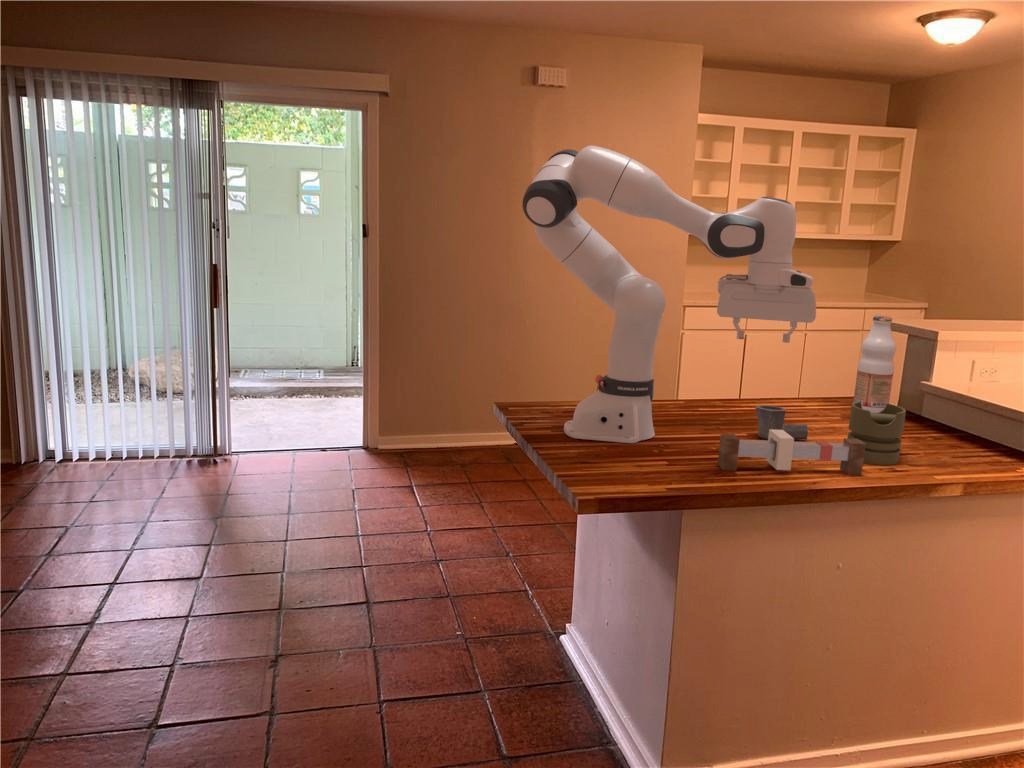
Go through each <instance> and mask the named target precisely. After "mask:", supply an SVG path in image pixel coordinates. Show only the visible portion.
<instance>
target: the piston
mask: <svg viewBox="0 0 1024 768" xmlns="http://www.w3.org/2000/svg"><path fill="white" fill-rule="evenodd" d="M906 412H907V410H906V409H905V408H904V407H901V406H898V405H895V404H890V403H889V404H886V406H885V408H884V409H883V410H882V411H880V412H878V413H870V411H869V410H864V409H862V406H861V402H854V403H853V402H852V403H851V407H850V416H849V423H848V429H849V430H850V431H849V432H848V433H847V438H849V439H859V440H860V441H862V442H863V443H865V444H866V446H865V454H864V461H863V462H864V463H863V464H868V463H869V464H868V465H870V464H871V465H875V464H877V466H893V465H894V466H895V465H897V464H898V463H899V461H900V454H901V446H902V442H903V441H902V439H901V437H902V436H903V435H904V428H905V420H906V414H907V413H906ZM898 437H900V438H898Z"/></svg>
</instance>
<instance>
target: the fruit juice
mask: <svg viewBox="0 0 1024 768" xmlns="http://www.w3.org/2000/svg"><path fill="white" fill-rule="evenodd" d="M892 321H893V317H892V316H889V315H888V316H886V315H874V316H872V322H873V324H872V326H871V328H870V330H869V332H868V334H867V336H865V338H864V339H863V341H862V342H861V346H860V351H861V357H860V359H859V360H858V361H859V362H858V365H857V369H856V370H857V373H856V377H855V378H856V380H855V387H854V396H853V402H852V403H854V402H861V406H862V409H864V410H869V411H870V413H878V412H880V411H882V410H883V409H884V408H885V406H886V404H890V400H891V399H890V397H891V393H892V392H891V391H892V385H893V377H894V372H895V371H894V370H895V362H894V357H895V355H896V352H897V344H896V342H895V340H894V338H893V332H892V329H891V324H892V323H893V322H892Z"/></svg>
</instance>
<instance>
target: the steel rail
mask: <svg viewBox="0 0 1024 768" xmlns="http://www.w3.org/2000/svg"><path fill="white" fill-rule="evenodd" d="M776 449H777V442H776V441H768V439H762V440H760V439H759V440H758V439H740V441H739V451H738V458H741V457H742V458H761V459H762V458H764V459H766V458H776ZM849 453H850V447H849V446H848V445H846V444H845V443H843V442H828V441H814V442H813V441H794V444H793V453H792V460H794V459H795V460H815V461H817V460H818V461H823V462H825V461H826V462H832V461H841V460H843V461H848V460H849Z"/></svg>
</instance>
